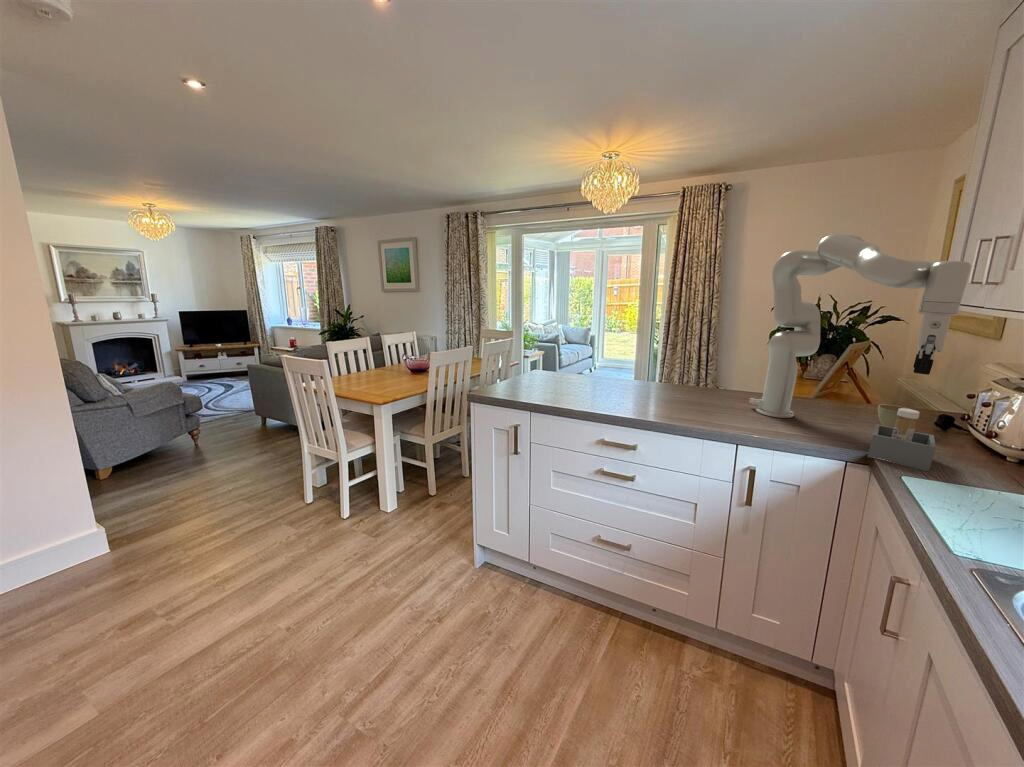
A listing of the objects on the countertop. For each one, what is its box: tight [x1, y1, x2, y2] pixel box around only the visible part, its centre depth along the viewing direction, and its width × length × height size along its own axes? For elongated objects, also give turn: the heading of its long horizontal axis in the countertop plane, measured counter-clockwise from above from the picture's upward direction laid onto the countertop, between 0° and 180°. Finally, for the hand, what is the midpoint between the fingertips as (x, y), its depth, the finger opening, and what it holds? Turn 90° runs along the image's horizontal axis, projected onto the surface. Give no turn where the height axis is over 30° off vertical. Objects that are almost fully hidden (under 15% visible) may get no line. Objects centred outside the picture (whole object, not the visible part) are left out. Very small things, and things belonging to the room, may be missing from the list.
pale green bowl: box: [877, 404, 910, 428], centre depth 148 cm, size 10×10×7 cm
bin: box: [867, 423, 937, 472], centre depth 122 cm, size 13×13×7 cm
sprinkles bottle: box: [891, 407, 921, 441], centre depth 121 cm, size 5×5×14 cm
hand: (920, 371), depth 117 cm, fingers open, 9 cm apart
